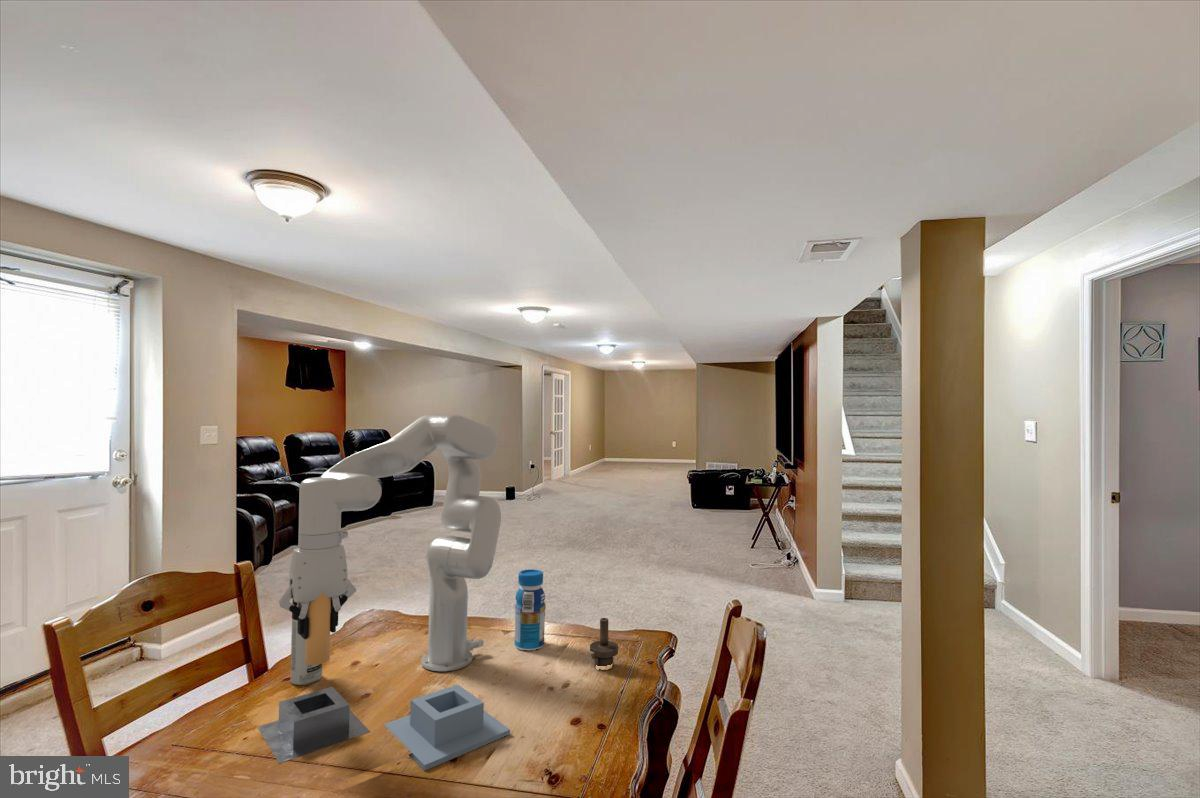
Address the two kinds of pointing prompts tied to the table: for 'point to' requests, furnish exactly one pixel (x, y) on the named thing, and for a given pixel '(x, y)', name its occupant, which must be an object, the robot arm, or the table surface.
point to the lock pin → (318, 631)
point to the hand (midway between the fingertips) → (317, 632)
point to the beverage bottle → (530, 611)
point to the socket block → (445, 726)
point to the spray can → (301, 659)
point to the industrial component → (603, 646)
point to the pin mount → (311, 724)
